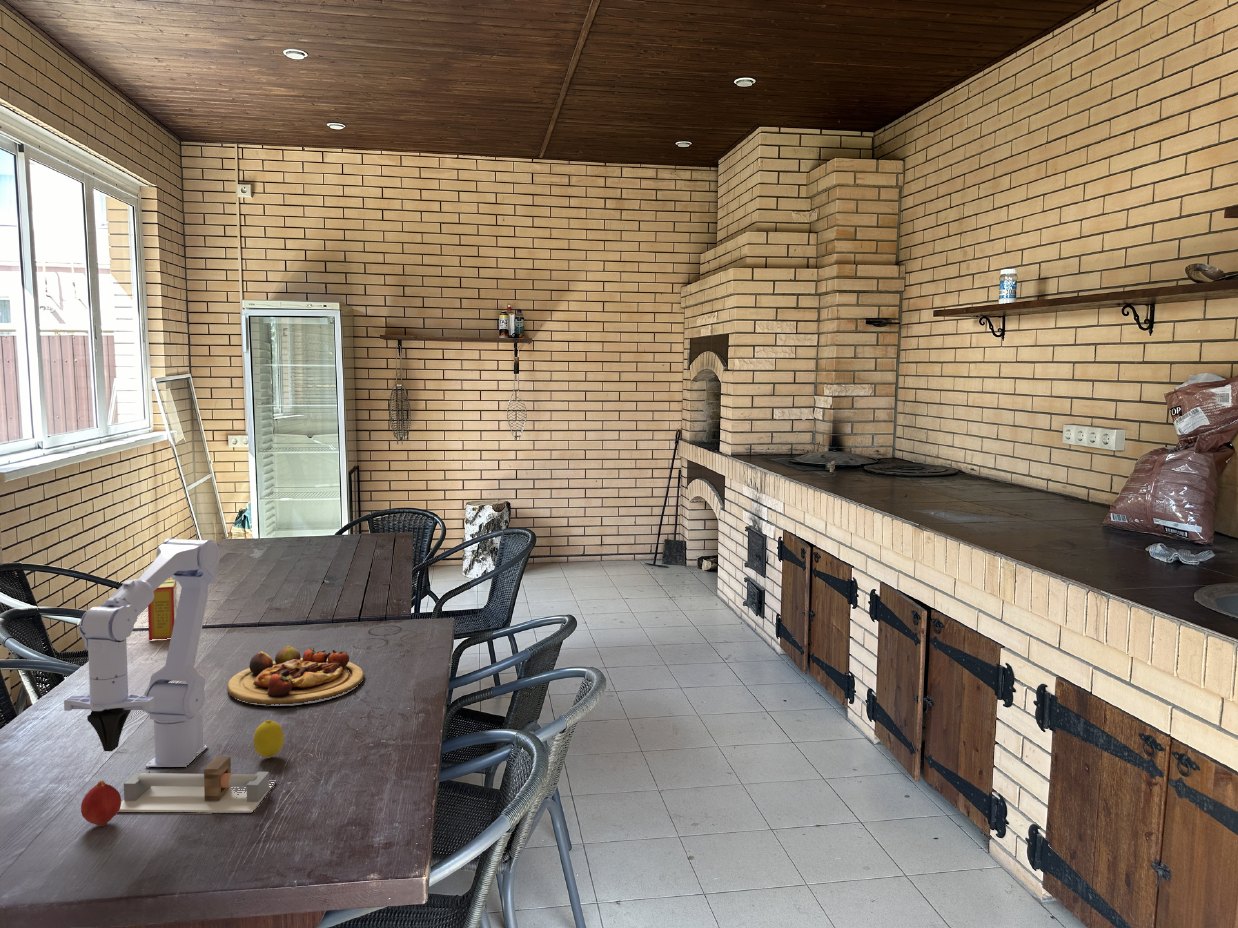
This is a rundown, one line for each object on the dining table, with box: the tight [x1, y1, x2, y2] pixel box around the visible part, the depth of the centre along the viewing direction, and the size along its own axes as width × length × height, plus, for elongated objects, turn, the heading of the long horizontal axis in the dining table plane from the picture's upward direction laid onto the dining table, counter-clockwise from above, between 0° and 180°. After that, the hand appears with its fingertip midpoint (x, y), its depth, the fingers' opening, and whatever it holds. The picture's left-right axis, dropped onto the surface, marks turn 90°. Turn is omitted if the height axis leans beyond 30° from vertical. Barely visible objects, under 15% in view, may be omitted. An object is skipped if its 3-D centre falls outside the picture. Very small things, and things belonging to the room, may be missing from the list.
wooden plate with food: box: [226, 645, 365, 705], centre depth 206 cm, size 32×32×8 cm
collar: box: [203, 755, 232, 801], centre depth 149 cm, size 2×5×6 cm, turn 2°
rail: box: [118, 769, 274, 812], centre depth 150 cm, size 24×11×5 cm, turn 92°
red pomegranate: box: [80, 780, 122, 827], centre depth 139 cm, size 6×6×8 cm
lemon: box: [253, 719, 285, 758], centre depth 165 cm, size 6×6×8 cm
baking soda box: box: [147, 579, 178, 641], centre depth 241 cm, size 10×6×16 cm
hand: (111, 748), depth 145 cm, fingers closed
